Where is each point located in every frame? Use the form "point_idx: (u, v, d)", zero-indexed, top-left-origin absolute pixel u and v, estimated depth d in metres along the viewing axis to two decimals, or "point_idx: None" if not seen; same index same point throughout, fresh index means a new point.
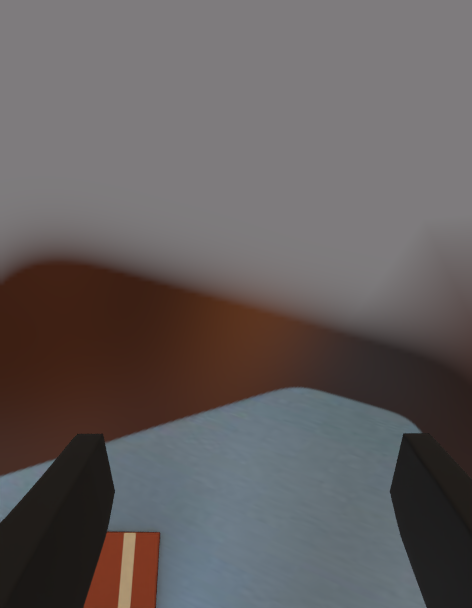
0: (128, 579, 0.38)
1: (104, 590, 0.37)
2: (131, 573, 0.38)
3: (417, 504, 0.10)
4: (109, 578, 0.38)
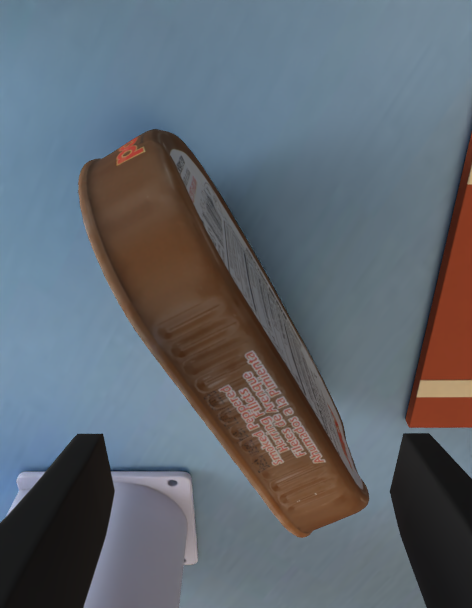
0: None
1: None
2: None
3: (417, 504, 0.10)
4: None
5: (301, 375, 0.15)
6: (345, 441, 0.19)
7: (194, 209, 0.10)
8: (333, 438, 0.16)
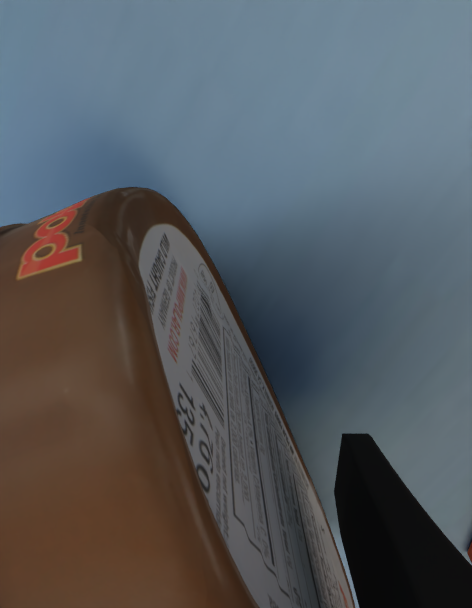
0: None
1: None
2: None
3: (351, 504, 0.10)
4: None
5: (322, 601, 0.09)
6: None
7: (176, 436, 0.04)
8: None
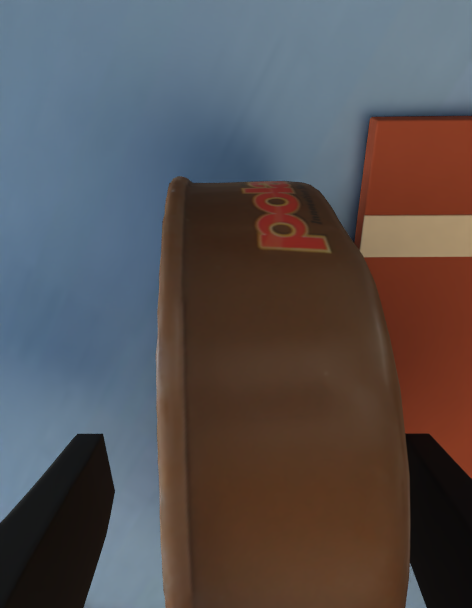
0: None
1: None
2: None
3: (417, 504, 0.10)
4: None
5: None
6: None
7: (405, 441, 0.05)
8: None
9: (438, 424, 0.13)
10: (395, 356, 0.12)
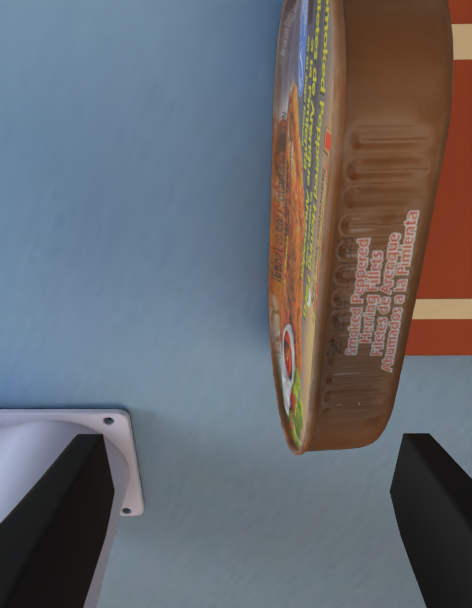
0: (442, 311, 0.20)
1: (432, 271, 0.19)
2: (451, 316, 0.20)
3: (417, 504, 0.10)
4: (451, 279, 0.19)
5: None
6: None
7: None
8: None
9: (452, 215, 0.17)
10: None
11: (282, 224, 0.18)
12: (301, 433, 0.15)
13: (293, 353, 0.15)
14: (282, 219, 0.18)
